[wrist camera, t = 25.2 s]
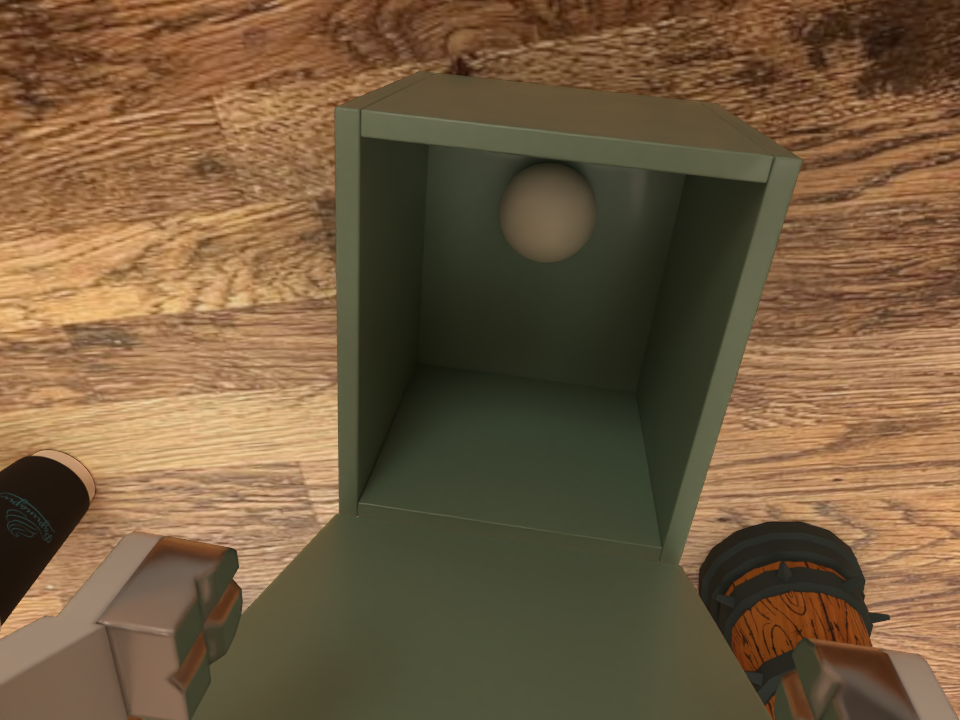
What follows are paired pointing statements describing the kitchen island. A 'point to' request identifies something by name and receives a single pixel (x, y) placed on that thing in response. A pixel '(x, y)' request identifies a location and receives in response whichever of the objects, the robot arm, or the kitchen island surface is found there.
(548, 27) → the kitchen island surface
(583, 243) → the beige ball
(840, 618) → the mug
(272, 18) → the kitchen island surface
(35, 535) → the dixie cup
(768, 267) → the bin
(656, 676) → the bin lid
